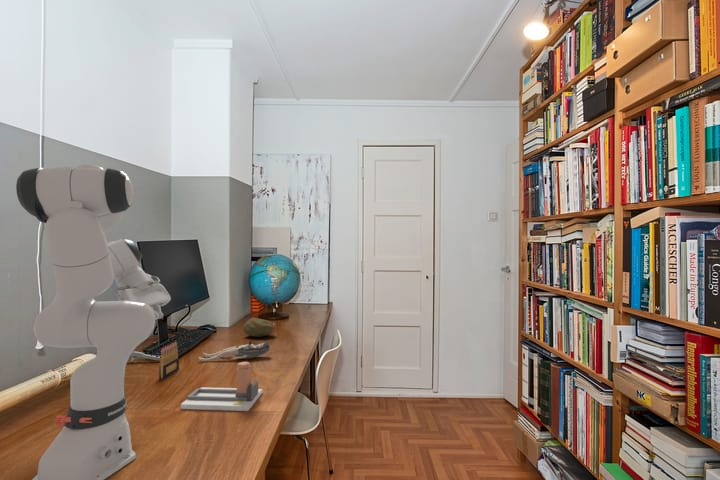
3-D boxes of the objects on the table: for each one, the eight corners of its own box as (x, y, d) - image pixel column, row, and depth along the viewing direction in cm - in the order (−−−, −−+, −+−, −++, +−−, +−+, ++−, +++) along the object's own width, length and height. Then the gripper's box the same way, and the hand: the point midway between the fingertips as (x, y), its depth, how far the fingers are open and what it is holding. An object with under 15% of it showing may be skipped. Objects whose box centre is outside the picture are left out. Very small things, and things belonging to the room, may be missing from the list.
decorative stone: (277, 334, 218) (277, 317, 218) (270, 340, 207) (270, 321, 207) (248, 333, 220) (248, 316, 220) (239, 339, 209) (239, 320, 209)
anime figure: (203, 346, 179) (269, 336, 183) (205, 362, 179) (271, 351, 183) (197, 353, 170) (266, 341, 173) (199, 369, 170) (269, 357, 173)
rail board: (248, 411, 123) (248, 393, 123) (180, 408, 125) (180, 391, 125) (262, 393, 137) (262, 377, 137) (201, 391, 139) (201, 376, 139)
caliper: (126, 363, 170) (125, 348, 170) (127, 362, 171) (127, 348, 171) (173, 362, 171) (173, 348, 171) (174, 361, 172) (174, 347, 172)
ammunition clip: (163, 379, 151) (163, 348, 151) (159, 379, 151) (158, 348, 151) (179, 369, 161) (179, 340, 161) (174, 369, 162) (174, 340, 161)
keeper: (247, 399, 128) (247, 366, 128) (235, 399, 128) (235, 365, 128) (252, 394, 133) (251, 361, 132) (240, 393, 133) (240, 361, 133)
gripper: (120, 282, 120) (146, 318, 119) (161, 276, 141) (183, 307, 140) (105, 294, 121) (131, 330, 120) (147, 287, 141) (169, 318, 140)
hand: (159, 318), depth 130 cm, fingers closed
